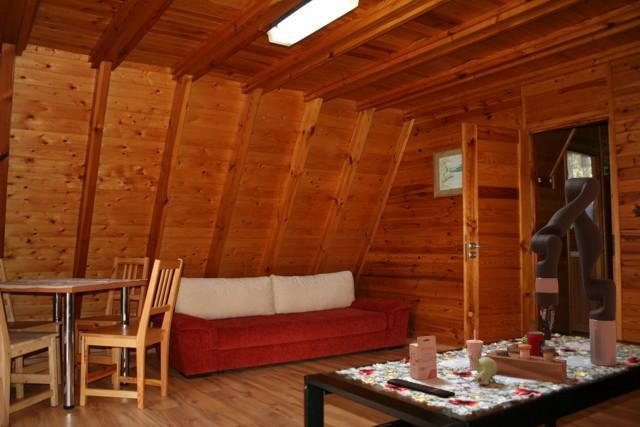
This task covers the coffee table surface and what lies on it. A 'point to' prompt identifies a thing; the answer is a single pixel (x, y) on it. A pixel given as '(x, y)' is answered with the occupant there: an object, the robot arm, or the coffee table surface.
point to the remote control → (421, 388)
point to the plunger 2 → (548, 353)
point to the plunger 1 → (502, 353)
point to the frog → (483, 369)
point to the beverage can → (536, 343)
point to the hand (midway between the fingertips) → (547, 340)
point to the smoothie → (474, 349)
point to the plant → (514, 347)
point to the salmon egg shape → (524, 351)
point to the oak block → (530, 367)
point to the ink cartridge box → (423, 358)
